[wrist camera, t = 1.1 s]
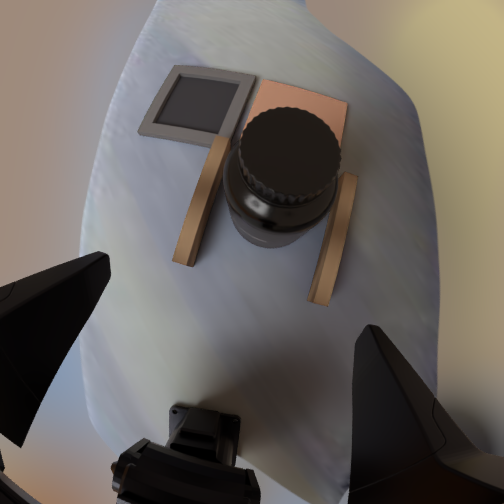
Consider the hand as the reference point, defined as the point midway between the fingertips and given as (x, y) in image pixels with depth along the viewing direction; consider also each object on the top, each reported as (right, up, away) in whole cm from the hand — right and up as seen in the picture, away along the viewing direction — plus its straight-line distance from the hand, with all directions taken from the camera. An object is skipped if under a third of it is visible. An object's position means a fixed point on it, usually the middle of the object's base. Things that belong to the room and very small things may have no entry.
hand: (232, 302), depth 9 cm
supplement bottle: (+2, +5, +15) cm, 16 cm away
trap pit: (-5, +17, +16) cm, 24 cm away
